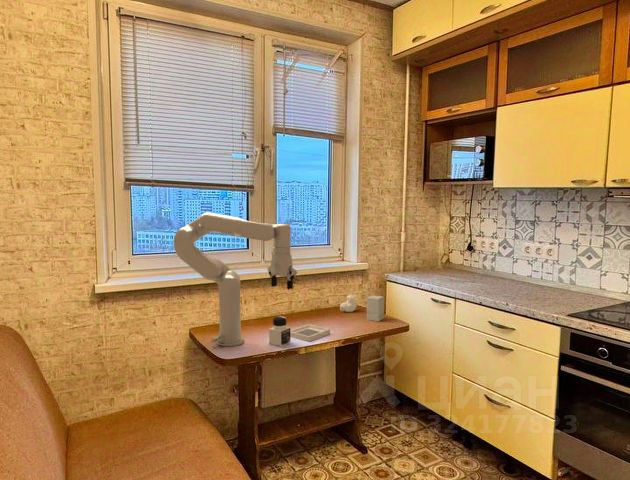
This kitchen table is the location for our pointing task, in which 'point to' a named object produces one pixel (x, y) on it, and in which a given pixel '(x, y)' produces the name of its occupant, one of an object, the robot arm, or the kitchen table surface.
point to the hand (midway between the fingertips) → (281, 287)
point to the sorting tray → (309, 332)
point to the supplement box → (375, 308)
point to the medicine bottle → (279, 332)
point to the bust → (349, 304)
